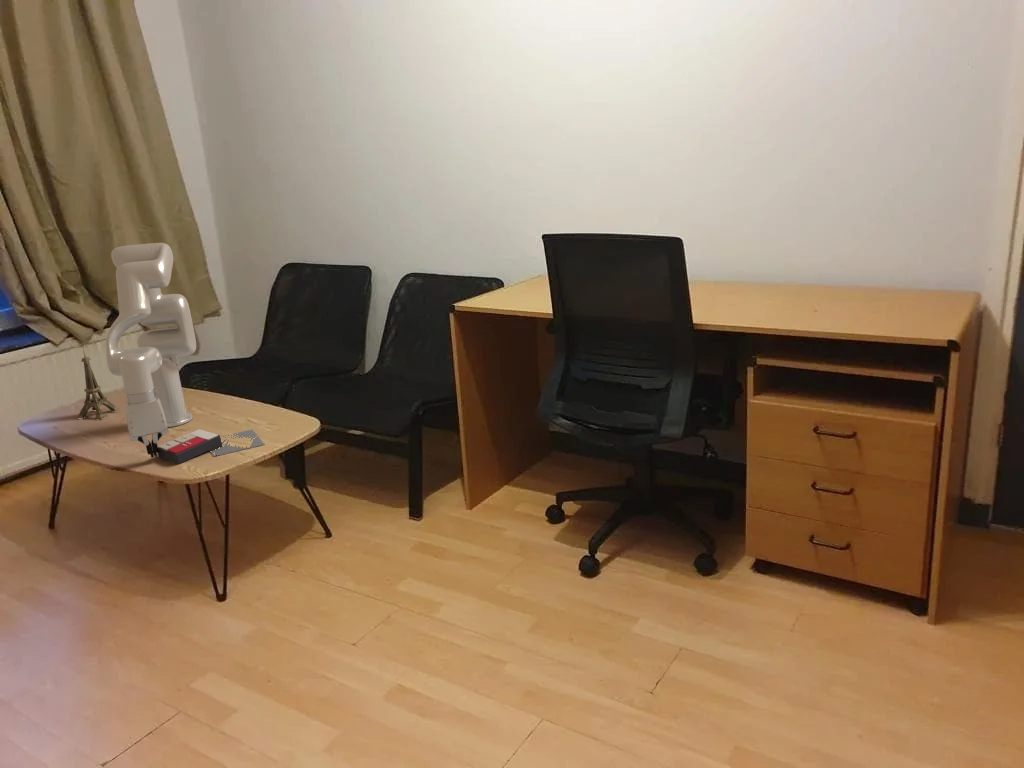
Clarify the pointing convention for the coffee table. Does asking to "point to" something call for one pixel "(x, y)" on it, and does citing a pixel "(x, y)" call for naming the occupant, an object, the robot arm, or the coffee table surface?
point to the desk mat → (231, 449)
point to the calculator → (189, 446)
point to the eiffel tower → (93, 393)
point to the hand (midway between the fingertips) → (153, 455)
